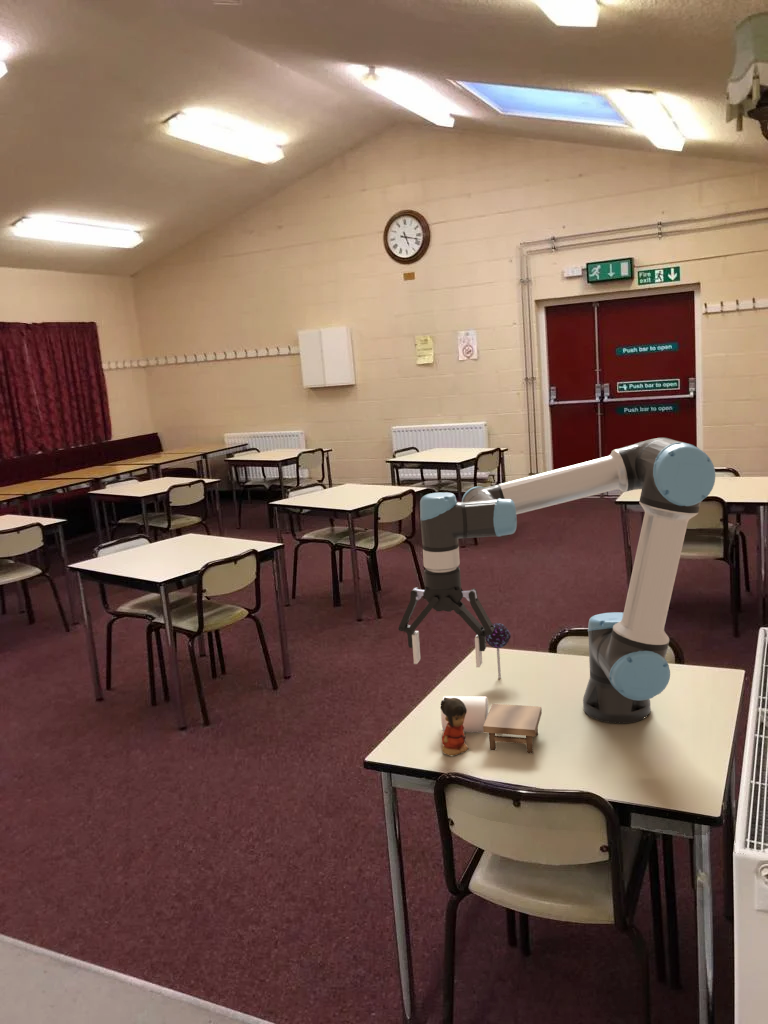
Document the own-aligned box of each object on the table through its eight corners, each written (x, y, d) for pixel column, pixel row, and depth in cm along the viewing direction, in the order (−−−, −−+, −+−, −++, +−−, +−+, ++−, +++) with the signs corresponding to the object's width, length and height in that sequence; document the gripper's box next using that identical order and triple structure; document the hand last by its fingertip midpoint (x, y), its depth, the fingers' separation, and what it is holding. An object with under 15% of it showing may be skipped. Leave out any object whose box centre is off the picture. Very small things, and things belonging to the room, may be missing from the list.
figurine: (437, 755, 172) (433, 703, 169) (445, 742, 177) (441, 692, 174) (465, 758, 169) (461, 706, 167) (472, 745, 174) (469, 695, 172)
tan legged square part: (542, 731, 178) (541, 706, 177) (536, 756, 168) (534, 729, 167) (493, 727, 181) (492, 703, 180) (484, 751, 171) (483, 726, 170)
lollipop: (486, 672, 212) (483, 619, 209) (512, 672, 211) (509, 618, 208) (486, 683, 205) (483, 628, 202) (513, 683, 204) (510, 628, 201)
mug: (486, 739, 177) (484, 706, 175) (442, 738, 179) (440, 705, 177) (490, 714, 188) (488, 683, 187) (448, 713, 190) (446, 683, 189)
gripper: (504, 563, 164) (509, 659, 168) (390, 561, 172) (397, 653, 176) (498, 573, 157) (503, 673, 161) (379, 571, 165) (387, 666, 169)
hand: (447, 663), depth 169 cm, fingers open, 13 cm apart
